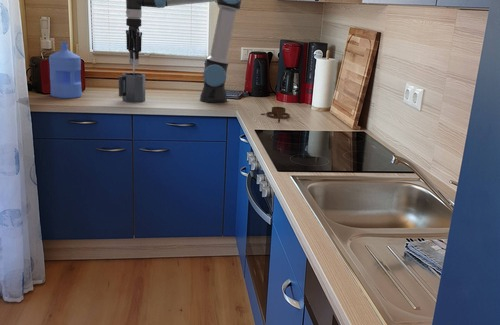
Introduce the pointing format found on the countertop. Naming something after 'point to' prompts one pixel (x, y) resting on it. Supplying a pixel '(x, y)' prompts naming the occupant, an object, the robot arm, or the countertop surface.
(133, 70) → the plunger
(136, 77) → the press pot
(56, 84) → the water jug
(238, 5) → the robot arm
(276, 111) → the place setting
